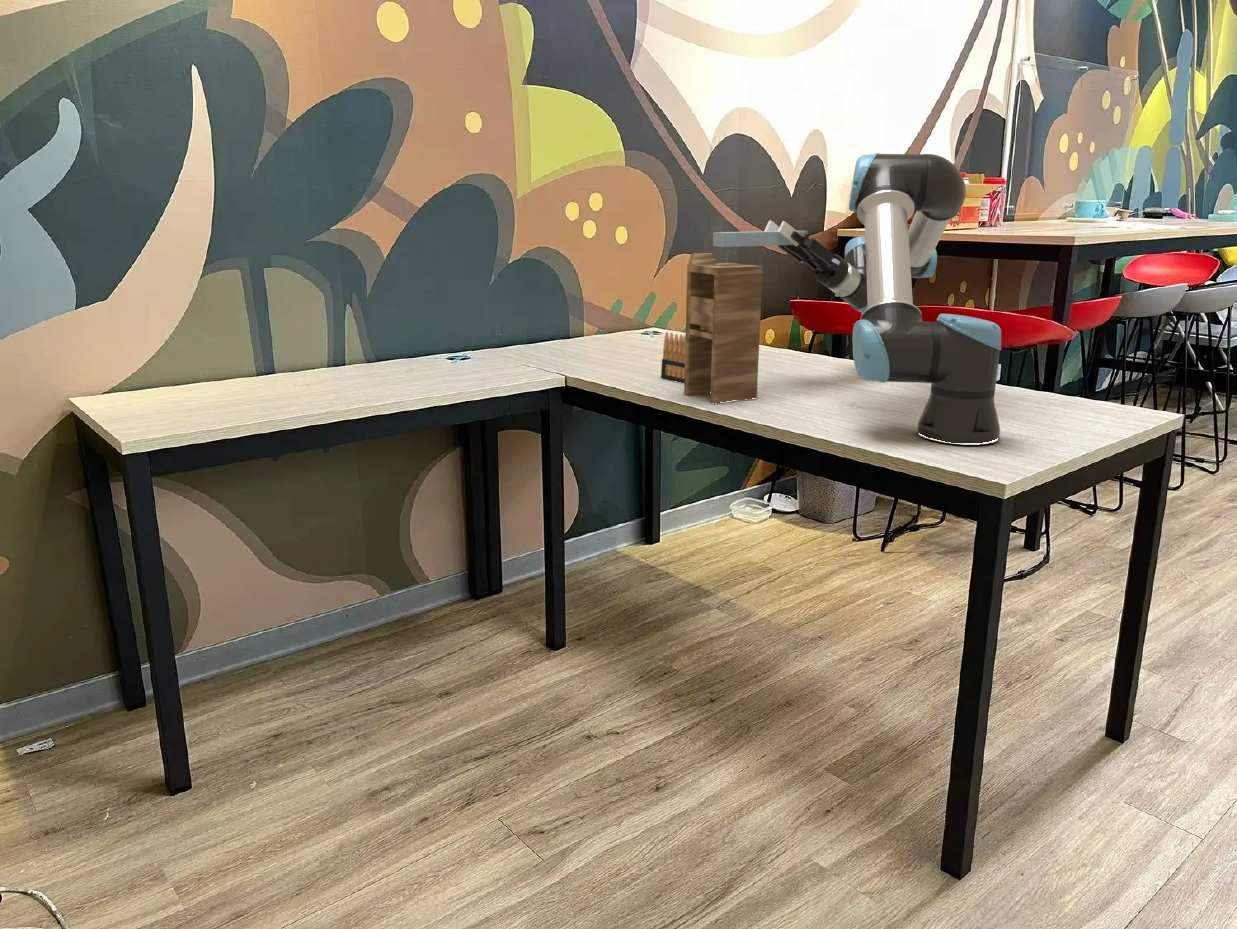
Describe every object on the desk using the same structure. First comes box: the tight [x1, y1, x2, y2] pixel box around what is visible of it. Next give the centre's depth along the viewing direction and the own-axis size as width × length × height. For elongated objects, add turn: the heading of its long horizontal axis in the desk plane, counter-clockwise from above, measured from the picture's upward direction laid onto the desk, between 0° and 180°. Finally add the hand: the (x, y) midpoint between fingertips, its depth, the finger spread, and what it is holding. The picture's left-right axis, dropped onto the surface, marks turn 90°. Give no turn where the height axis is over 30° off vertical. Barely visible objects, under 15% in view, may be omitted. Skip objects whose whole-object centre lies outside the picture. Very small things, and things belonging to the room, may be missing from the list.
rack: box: [683, 252, 764, 405], centre depth 212 cm, size 12×12×32 cm
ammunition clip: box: [660, 331, 686, 384], centre depth 233 cm, size 11×2×12 cm, turn 39°
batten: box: [712, 230, 809, 248], centre depth 211 cm, size 4×24×3 cm, turn 121°
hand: (774, 226), depth 213 cm, fingers closed on batten, 4 cm apart
